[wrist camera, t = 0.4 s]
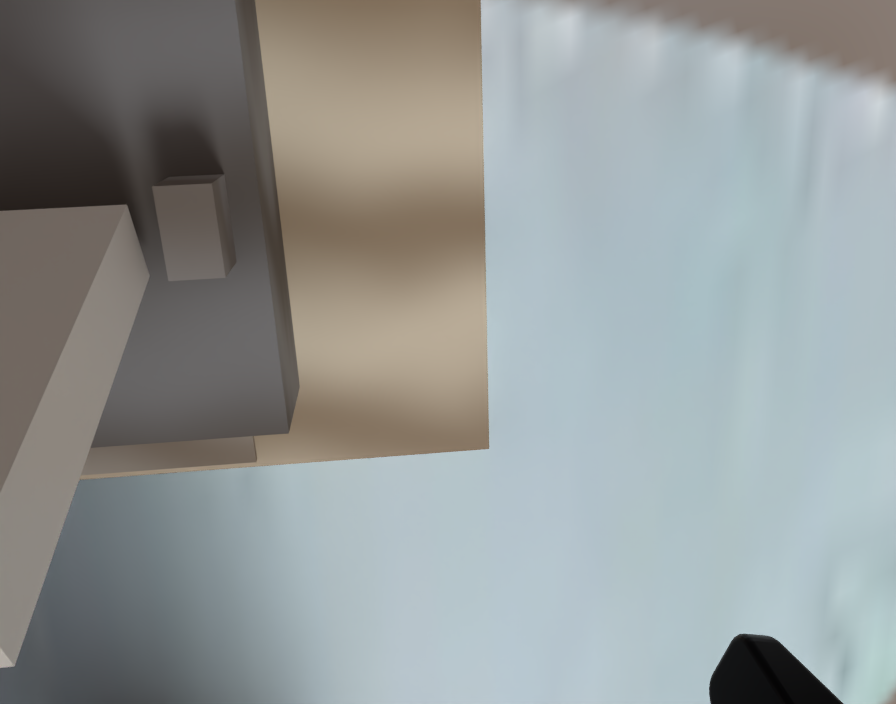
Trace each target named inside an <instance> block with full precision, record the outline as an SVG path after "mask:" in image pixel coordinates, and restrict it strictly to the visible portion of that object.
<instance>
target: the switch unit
mask: <svg viewBox="0 0 896 704" xmlns="http://www.w3.org/2000/svg"><path fill="white" fill-rule="evenodd" d="M108 205H127V206H128V209H129V212H130V216H131V219H132V222H133V225H134V228H135V231H136V234H137V238H138V241H139V244H140V247H141V250H142V253H143V256H144V260H145V263H146V266H147V269H148V272H149V275H150V277H149V280H148V283H147V285H146V288H145V291H144V294H143V297H142V300H141V303H140V306H139V309H138V311H137V314H136V317H135V320H134V323H133V326H132V329H131V332H130V335H129V337H128V340H127V343H126V346H125V349H124V352H123V355H122V358H121V361H120V363H119V366H118V369H117V372H116V375H115V378H114V381H113V384H112V387H111V389H110V392H109V395H108V398H107V401H106V404H105V407H104V410H103V413H102V415H101V418H100V421H99V424H98V427H97V430H96V433H95V436H94V439H93V441H92V444H91V447H90V450H89V453H88V456H87V459H86V462H85V465H84V467H83V470H82V473H81V476H80V479H79V480H83V479H96V478H110V477H123V476H136V475H149V474H163V473H176V472H189V471H202V470H215V469H229V468H242V467H255V466H268V465H282V464H295V463H308V462H321V461H334V460H348V459H361V458H374V457H387V456H401V455H414V454H427V453H440V452H453V451H467V450H480V449H489V419H488V367H487V315H486V263H485V211H484V159H483V107H482V55H481V3H480V0H0V211H9V210H29V209H49V208H68V207H88V206H108Z"/></svg>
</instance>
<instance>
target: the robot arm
mask: <svg viewBox="0 0 896 704" xmlns="http://www.w3.org/2000/svg"><path fill="white" fill-rule="evenodd" d="M709 695H710V702H711V704H843V703H842V702H841V701H840V700H839V699H838V698H837V697H836V696H835V695H834V694H833V693H832V692H831V691H830V690H829V689H828V688H827V687H826V686H825V685H824V684H822V683H821V682H820V681H819V680H818V679H817V678H816V677H815V676H814V675H813V674H812V673H811V672H810V671H809V670H808V669H807V668H806V667H805V666H804V665H803V664H802V663H801V662H800V661H799V660H798V659H797V658H796V657H795V656H793V655H792V654H791V653H790V652H789V651H788V650H787V649H786V648H785V647H784V646H783V645H782V644H781V643H780V642H779V641H777V640H776V639H774V638H772V637H770V636H765V635H753V634H739V635H738V636H736V637H734V639H733V640H732V641H731V643H730V645H729V647H728V648H727V650H726V652H725V653H724V655H723V657H722V659H721V660H720V662H719V664H718V666H717V667H716V669H715V671H714V673H713V675H712V677H711V681H710V687H709Z"/></svg>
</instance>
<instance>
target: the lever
mask: <svg viewBox="0 0 896 704" xmlns="http://www.w3.org/2000/svg"><path fill="white" fill-rule="evenodd" d="M149 277H150V275H149V272H148V269H147V266H146V263H145V260H144V256H143V253H142V250H141V247H140V244H139V241H138V238H137V234H136V231H135V228H134V225H133V222H132V219H131V216H130V212H129V209H128V206H127V205H108V206H88V207H68V208H49V209H29V210H9V211H0V668H2V667H12V666H15V664H16V661H17V658H18V655H19V652H20V649H21V647H22V644H23V641H24V638H25V635H26V632H27V629H28V626H29V623H30V621H31V618H32V615H33V612H34V609H35V606H36V603H37V600H38V597H39V595H40V592H41V589H42V586H43V583H44V580H45V577H46V574H47V571H48V569H49V566H50V563H51V560H52V557H53V554H54V551H55V548H56V545H57V543H58V540H59V537H60V534H61V531H62V528H63V525H64V522H65V519H66V517H67V514H68V511H69V508H70V505H71V502H72V499H73V496H74V493H75V491H76V488H77V485H78V482H79V479H80V476H81V473H82V470H83V467H84V465H85V462H86V459H87V456H88V453H89V450H90V447H91V444H92V441H93V439H94V436H95V433H96V430H97V427H98V424H99V421H100V418H101V415H102V413H103V410H104V407H105V404H106V401H107V398H108V395H109V392H110V389H111V387H112V384H113V381H114V378H115V375H116V372H117V369H118V366H119V363H120V361H121V358H122V355H123V352H124V349H125V346H126V343H127V340H128V337H129V335H130V332H131V329H132V326H133V323H134V320H135V317H136V314H137V311H138V309H139V306H140V303H141V300H142V297H143V294H144V291H145V288H146V285H147V283H148V280H149Z"/></svg>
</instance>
